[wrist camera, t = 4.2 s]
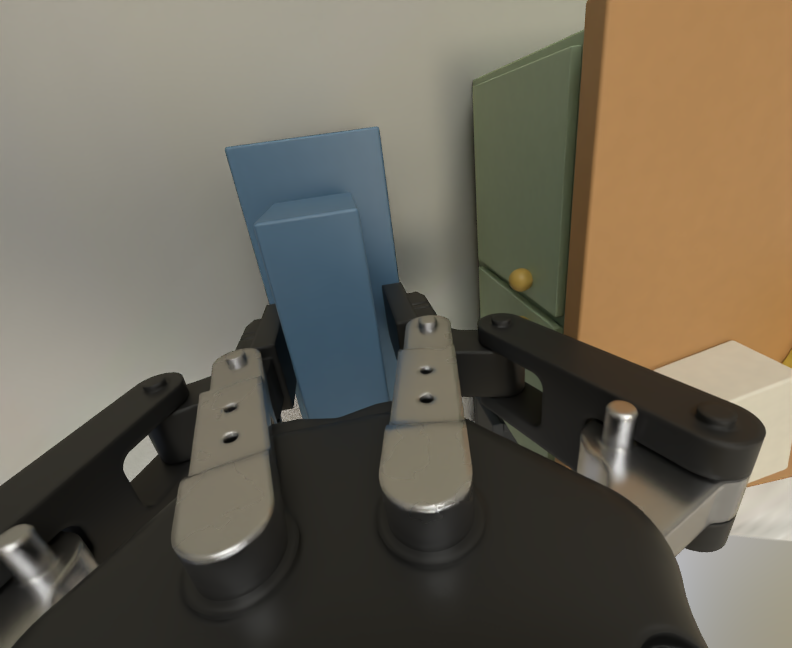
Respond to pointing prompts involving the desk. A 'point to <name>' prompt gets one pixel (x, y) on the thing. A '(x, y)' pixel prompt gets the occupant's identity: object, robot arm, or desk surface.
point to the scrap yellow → (788, 360)
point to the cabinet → (643, 182)
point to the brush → (324, 260)
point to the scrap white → (746, 394)
